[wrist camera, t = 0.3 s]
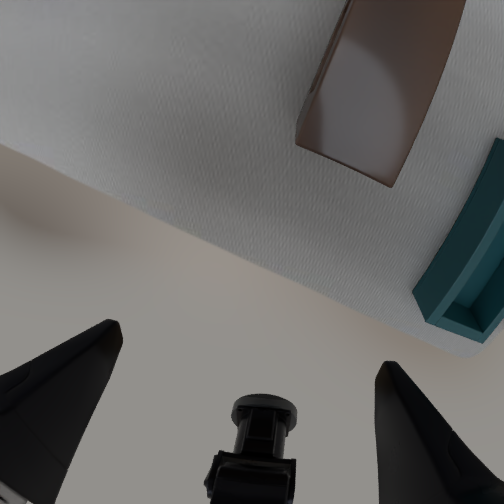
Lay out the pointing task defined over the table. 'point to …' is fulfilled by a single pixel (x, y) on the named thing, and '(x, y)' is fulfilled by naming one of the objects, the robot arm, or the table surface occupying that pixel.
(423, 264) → the table surface
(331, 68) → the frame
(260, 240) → the table surface
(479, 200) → the holder
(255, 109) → the table surface
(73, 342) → the robot arm
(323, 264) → the table surface
